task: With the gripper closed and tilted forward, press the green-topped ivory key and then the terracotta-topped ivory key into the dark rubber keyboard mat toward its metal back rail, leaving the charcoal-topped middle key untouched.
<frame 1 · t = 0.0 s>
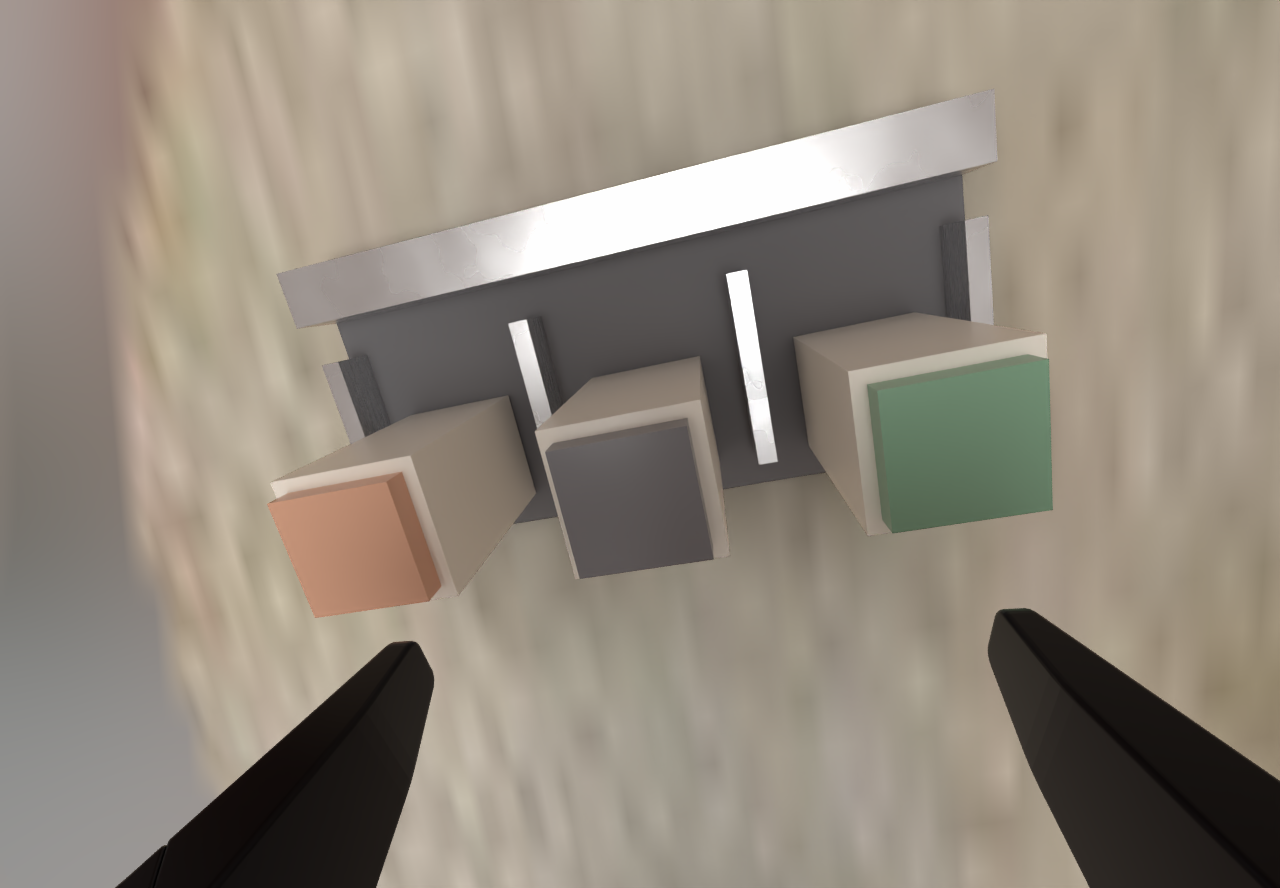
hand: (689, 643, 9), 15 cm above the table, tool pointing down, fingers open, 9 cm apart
key G: (899, 407, 17), point 6 cm above the table, slide at 0.0 cm
key O: (425, 493, 20), point 5 cm above the table, slide at 0.0 cm
key X: (646, 453, 18), point 6 cm above the table, slide at 0.0 cm
key mat: (648, 368, 23), on the table
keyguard: (636, 343, 21), on the key mat, point 1 cm above the table
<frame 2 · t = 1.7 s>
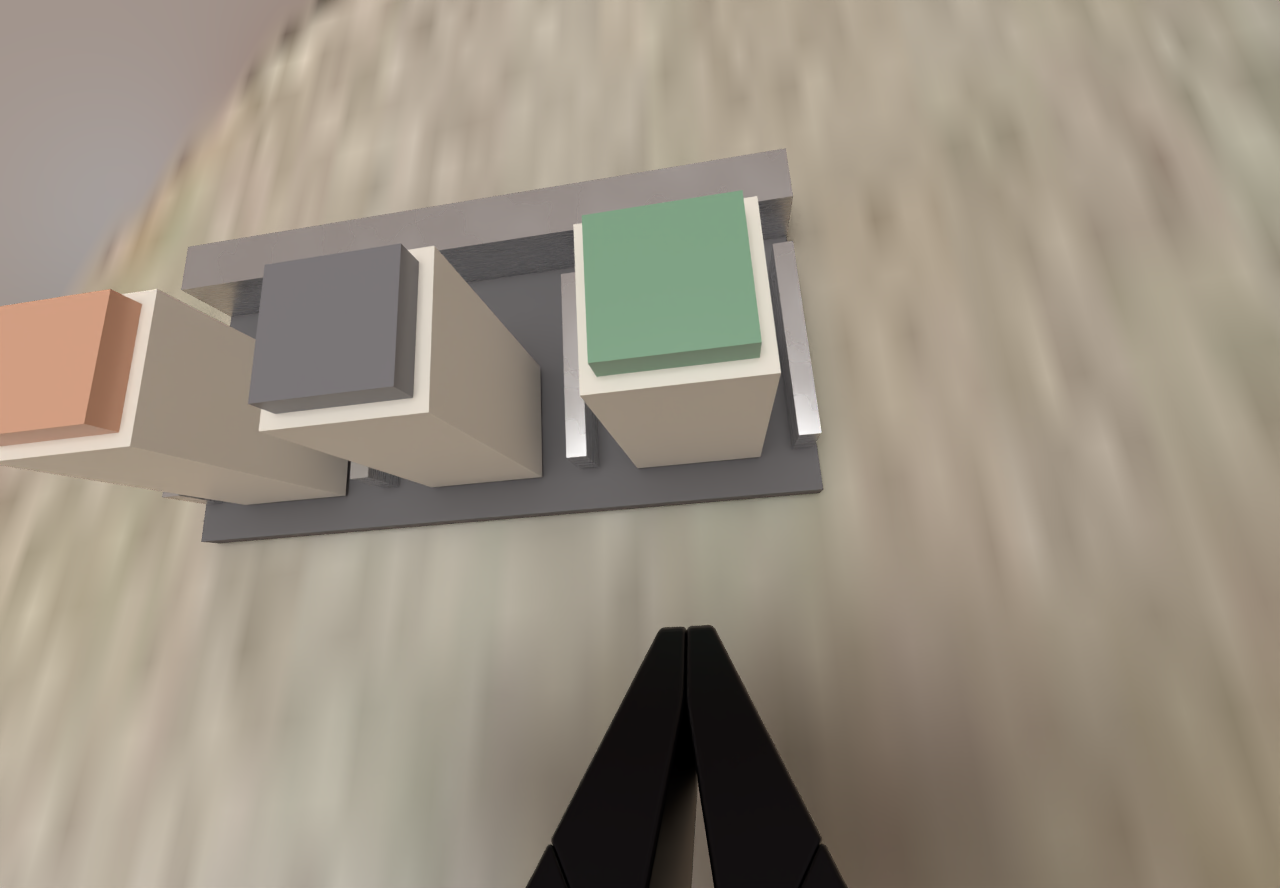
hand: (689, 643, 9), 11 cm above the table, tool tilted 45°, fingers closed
key G: (683, 356, 16), point 6 cm above the table, slide at 0.0 cm
key O: (198, 414, 18), point 6 cm above the table, slide at 0.0 cm
key X: (426, 387, 17), point 5 cm above the table, slide at 0.0 cm
key mat: (497, 386, 23), on the table
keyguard: (476, 338, 21), on the key mat, point 1 cm above the table
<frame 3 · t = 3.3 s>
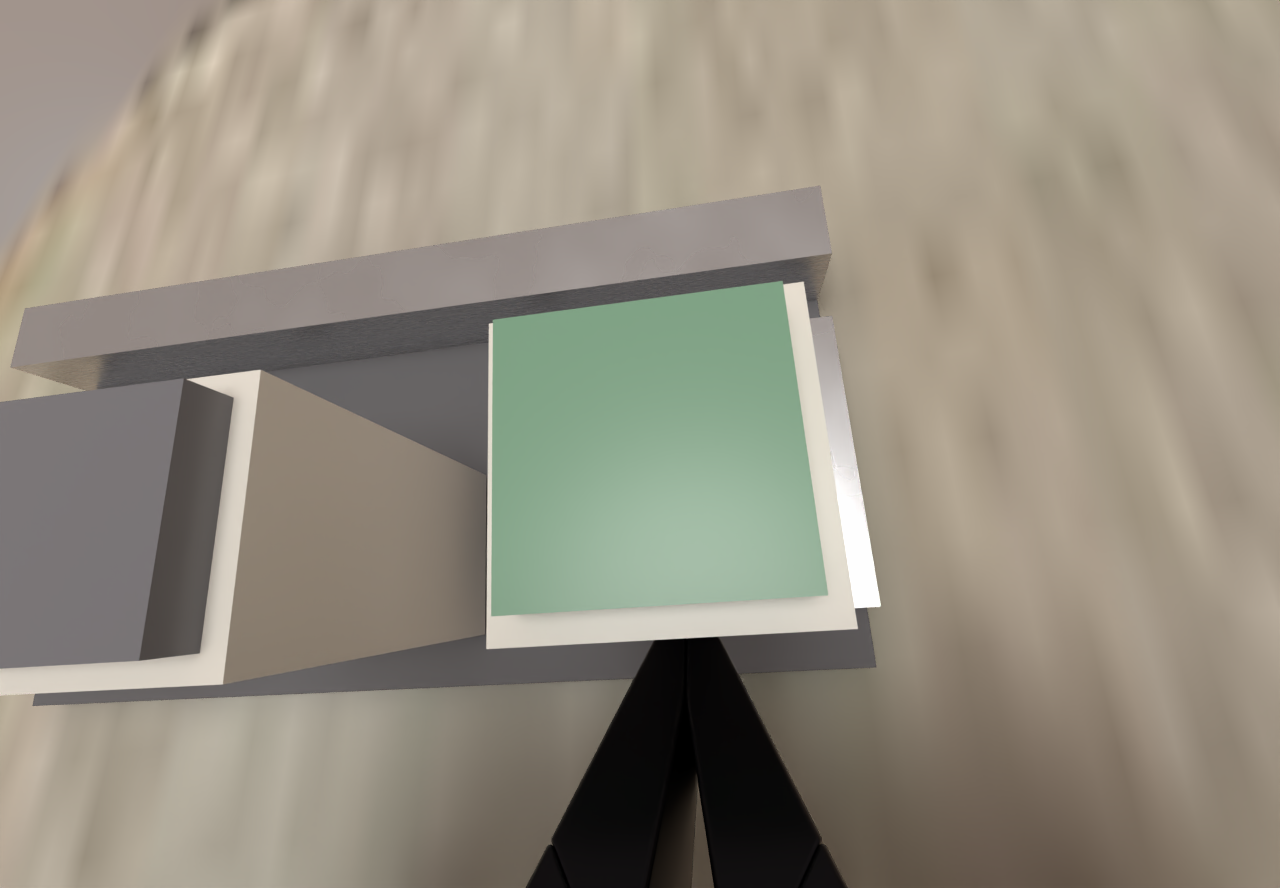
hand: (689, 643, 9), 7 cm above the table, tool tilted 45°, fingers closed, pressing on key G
key G: (676, 501, 11), point 6 cm above the table, slide at 0.3 cm, touching gripper
key X: (296, 546, 12), point 6 cm above the table, slide at 0.0 cm
key mat: (432, 494, 17), on the table
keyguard: (398, 439, 16), on the key mat, point 1 cm above the table
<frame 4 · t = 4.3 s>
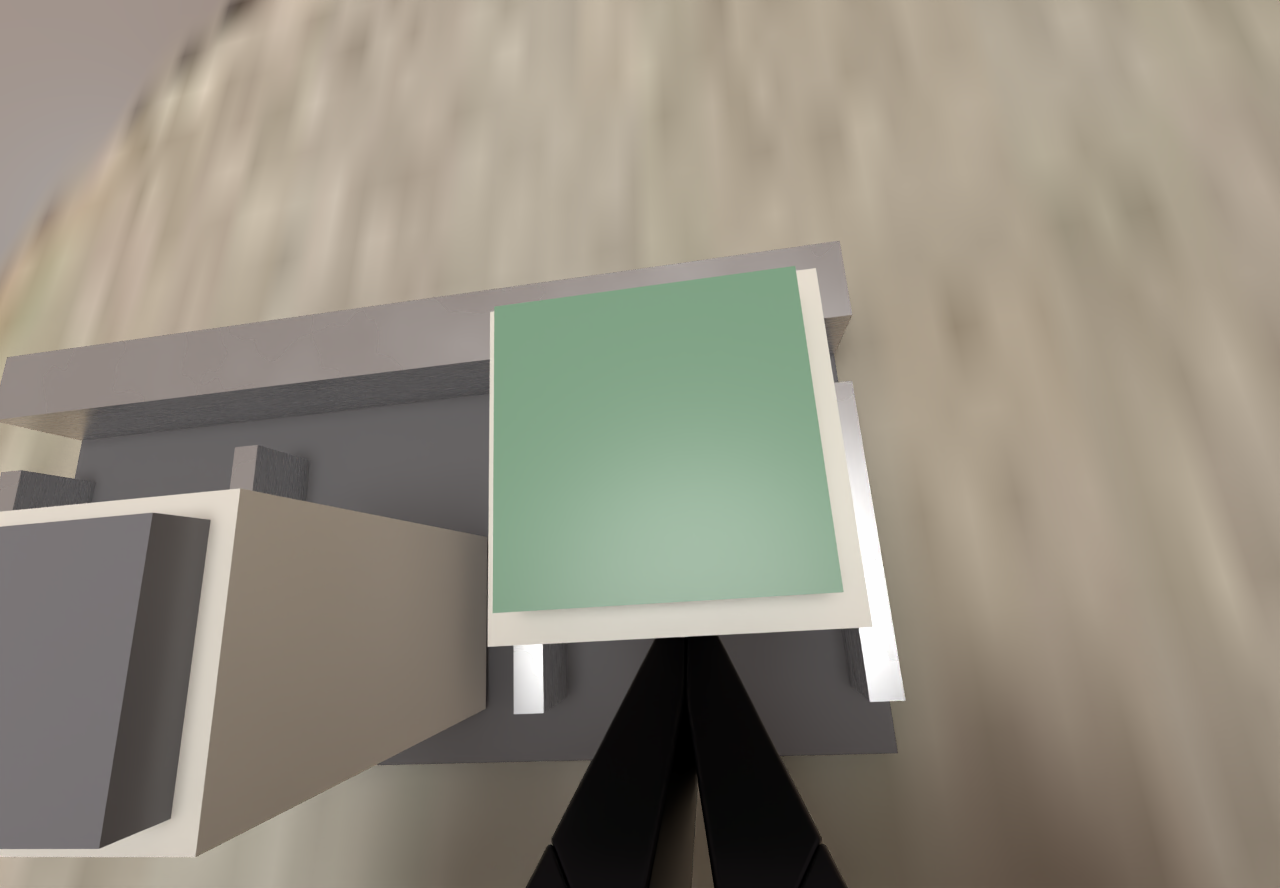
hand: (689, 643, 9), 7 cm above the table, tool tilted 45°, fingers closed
key G: (681, 495, 10), point 6 cm above the table, slide at 2.2 cm
key X: (284, 639, 11), point 6 cm above the table, slide at 0.0 cm
key mat: (431, 552, 17), on the table
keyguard: (395, 501, 15), on the key mat, point 1 cm above the table
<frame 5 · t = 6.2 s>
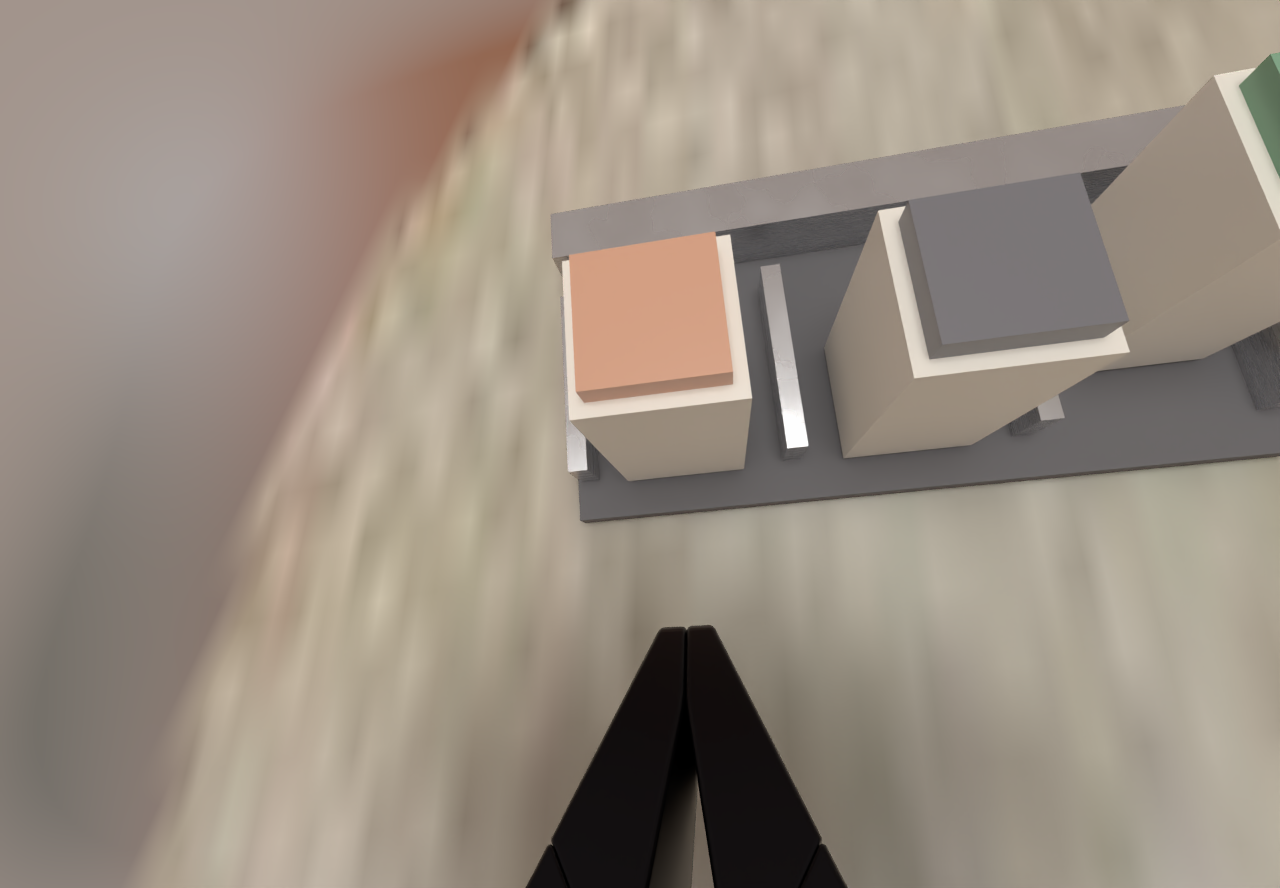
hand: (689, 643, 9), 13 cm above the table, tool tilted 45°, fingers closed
key G: (1218, 235, 16), point 5 cm above the table, slide at 2.2 cm
key O: (667, 378, 17), point 6 cm above the table, slide at 0.0 cm
key X: (938, 343, 16), point 6 cm above the table, slide at 0.0 cm
key mat: (877, 355, 22), on the table
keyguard: (885, 302, 21), on the key mat, point 1 cm above the table
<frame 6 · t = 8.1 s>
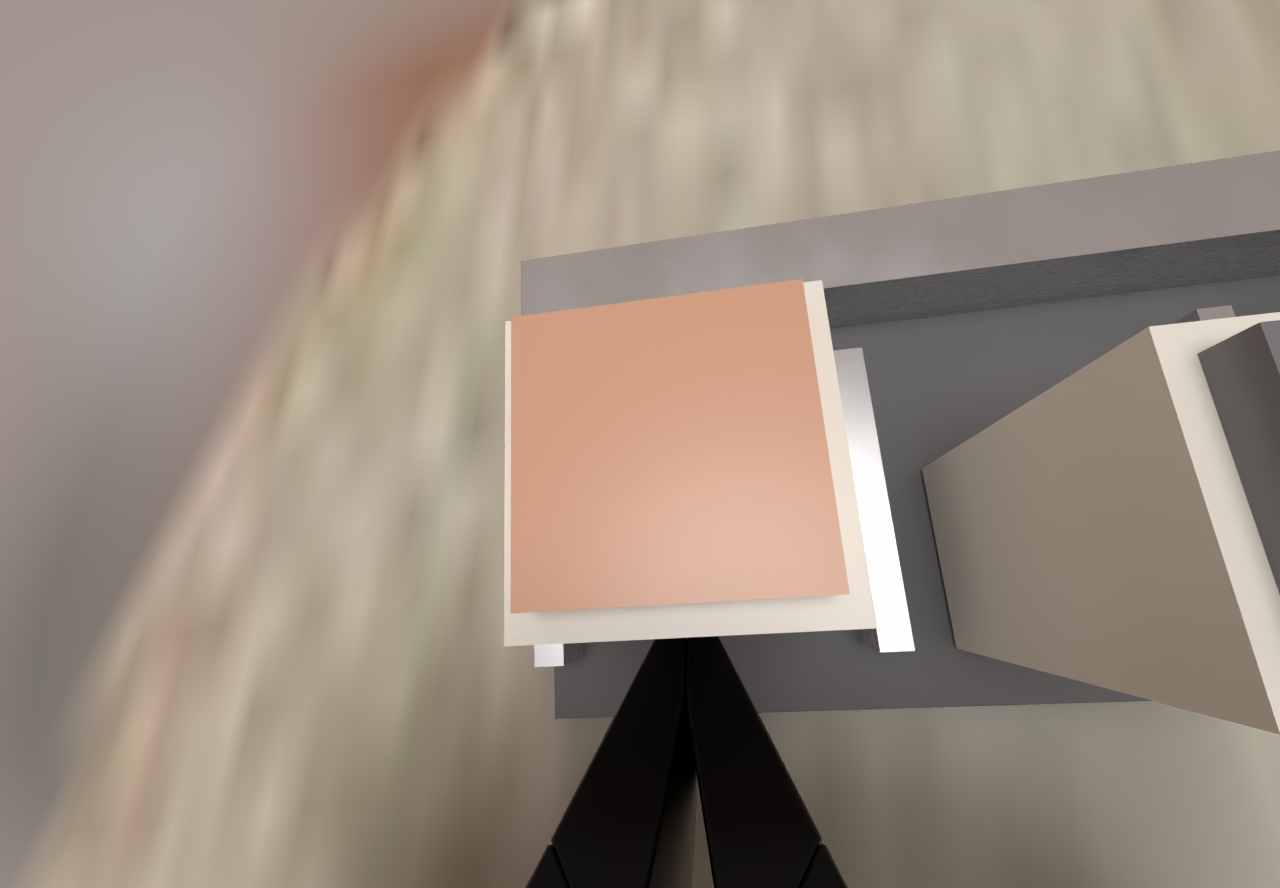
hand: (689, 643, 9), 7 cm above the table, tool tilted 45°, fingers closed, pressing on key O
key O: (689, 500, 11), point 6 cm above the table, slide at 1.2 cm, touching gripper
key X: (1174, 530, 9), point 6 cm above the table, slide at 0.0 cm
key mat: (997, 476, 15), on the table
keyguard: (1023, 409, 13), on the key mat, point 1 cm above the table
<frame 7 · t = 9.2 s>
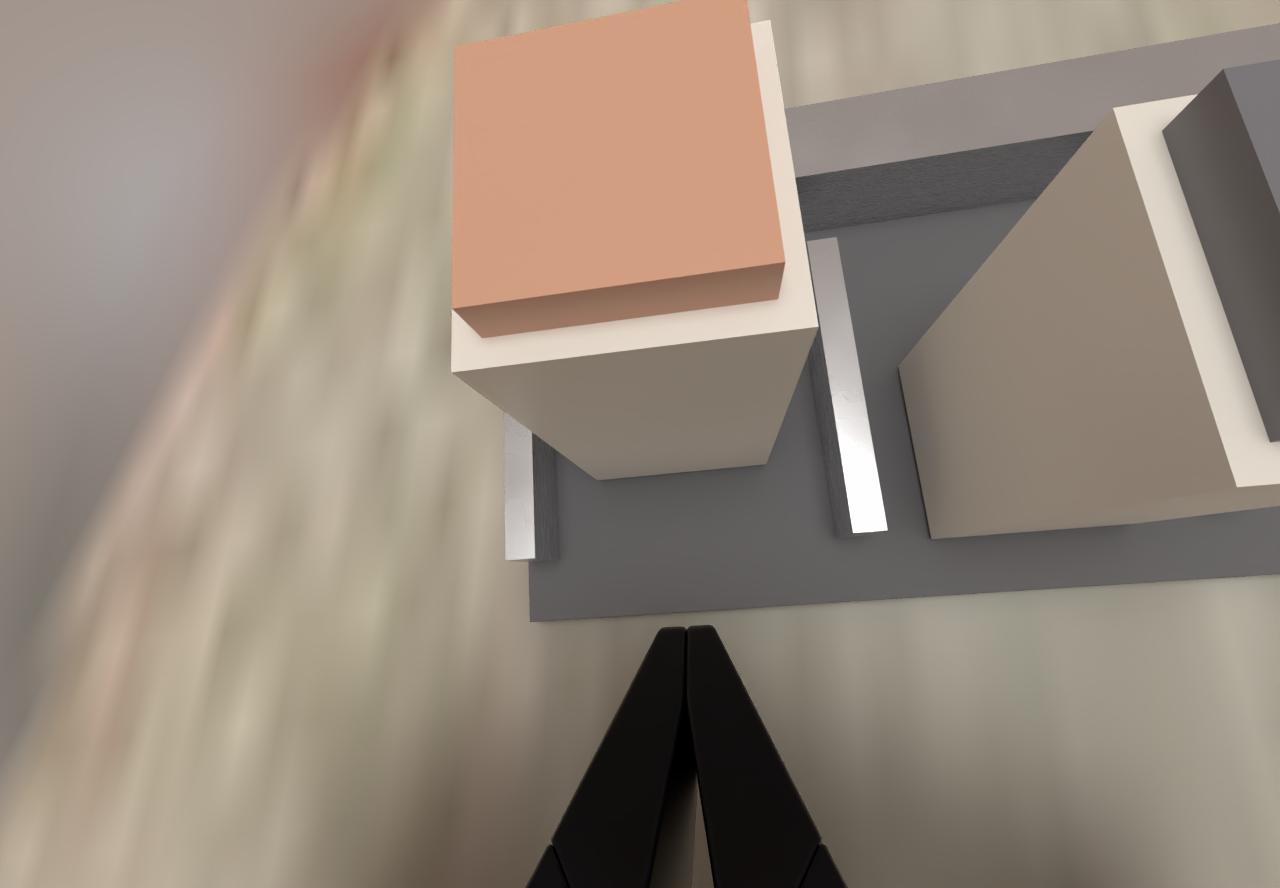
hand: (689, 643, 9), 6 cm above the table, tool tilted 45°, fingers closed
key O: (652, 318, 11), point 6 cm above the table, slide at 2.2 cm
key X: (1144, 376, 9), point 5 cm above the table, slide at 0.0 cm
key mat: (974, 376, 15), on the table
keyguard: (999, 298, 13), on the key mat, point 1 cm above the table
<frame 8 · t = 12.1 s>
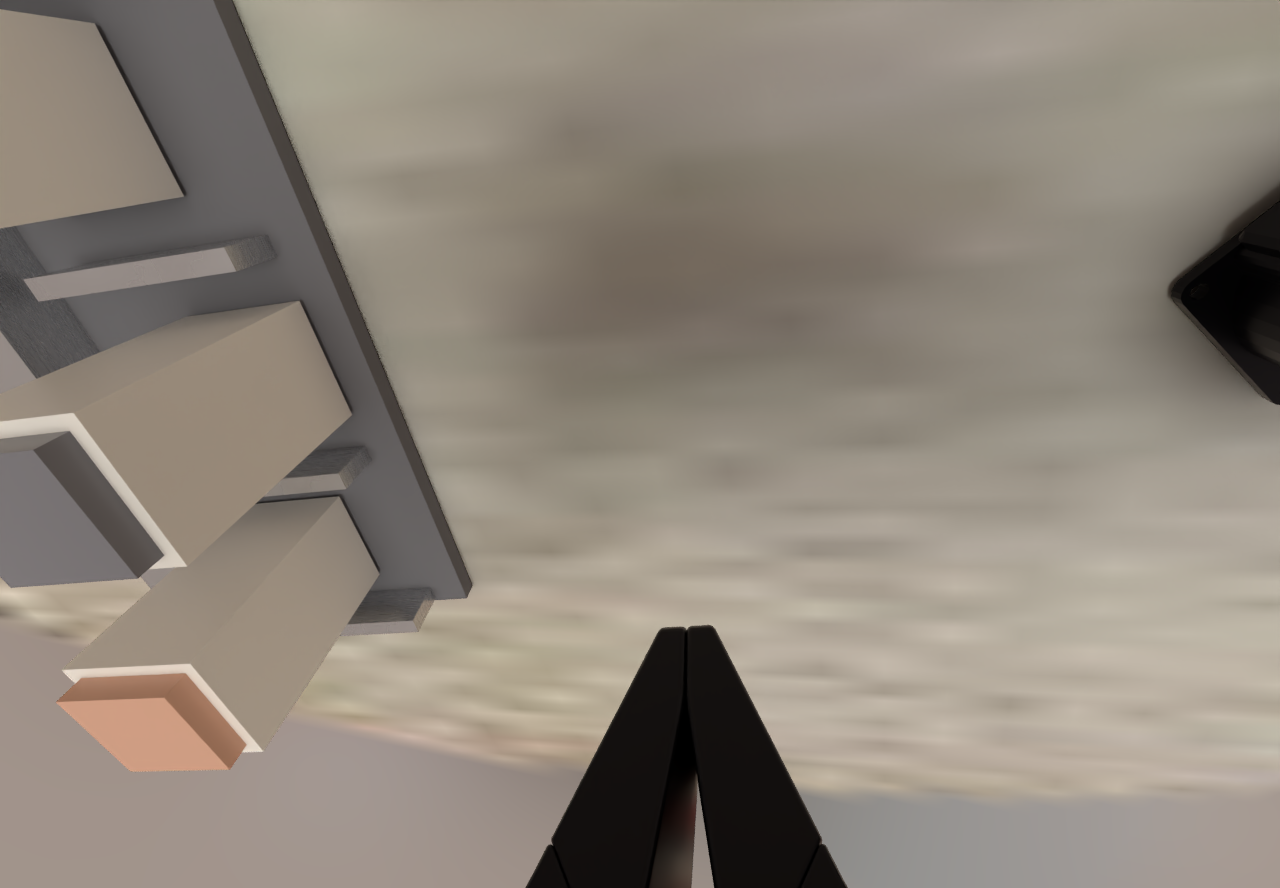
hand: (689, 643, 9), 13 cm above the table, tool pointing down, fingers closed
key O: (245, 620, 21), point 5 cm above the table, slide at 2.2 cm
key X: (175, 428, 16), point 5 cm above the table, slide at 0.0 cm
key mat: (241, 363, 21), on the table
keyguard: (172, 389, 20), on the key mat, point 1 cm above the table
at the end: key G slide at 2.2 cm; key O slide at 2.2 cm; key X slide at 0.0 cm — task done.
